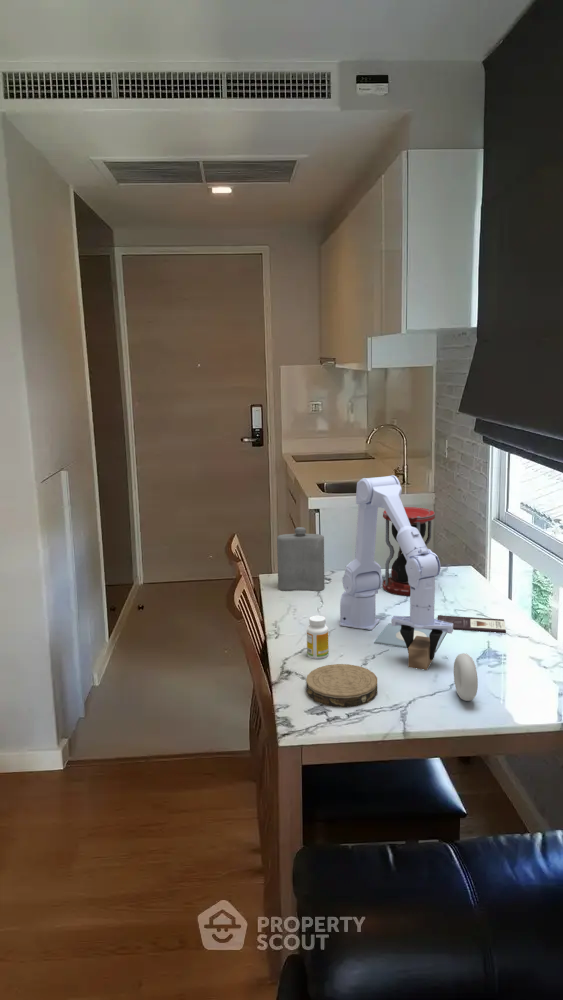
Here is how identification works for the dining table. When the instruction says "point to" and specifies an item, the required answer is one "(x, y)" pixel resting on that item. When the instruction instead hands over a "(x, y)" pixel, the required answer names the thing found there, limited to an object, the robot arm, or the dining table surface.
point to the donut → (465, 677)
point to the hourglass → (398, 572)
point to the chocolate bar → (475, 624)
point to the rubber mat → (395, 638)
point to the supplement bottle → (317, 638)
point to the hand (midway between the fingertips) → (421, 656)
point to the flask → (300, 561)
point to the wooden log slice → (341, 685)
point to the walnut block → (419, 653)
